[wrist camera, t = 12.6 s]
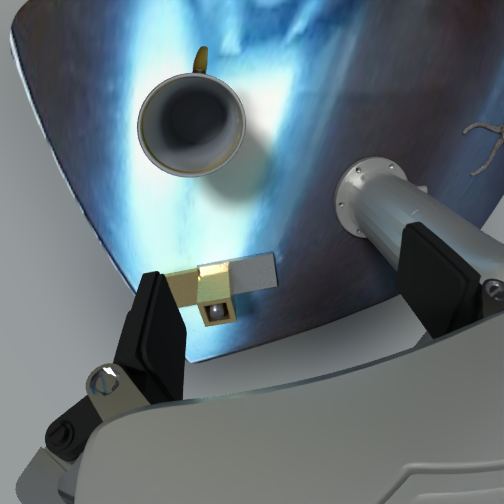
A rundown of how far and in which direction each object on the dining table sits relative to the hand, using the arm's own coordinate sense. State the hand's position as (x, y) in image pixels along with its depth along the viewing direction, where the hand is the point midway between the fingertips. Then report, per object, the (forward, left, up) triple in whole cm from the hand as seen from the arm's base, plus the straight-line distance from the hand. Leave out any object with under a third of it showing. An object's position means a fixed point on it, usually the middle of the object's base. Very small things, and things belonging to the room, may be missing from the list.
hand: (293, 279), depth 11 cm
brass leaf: (+10, +19, -28) cm, 35 cm away
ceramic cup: (+4, -6, -28) cm, 29 cm away
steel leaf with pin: (+4, +19, -28) cm, 34 cm away
